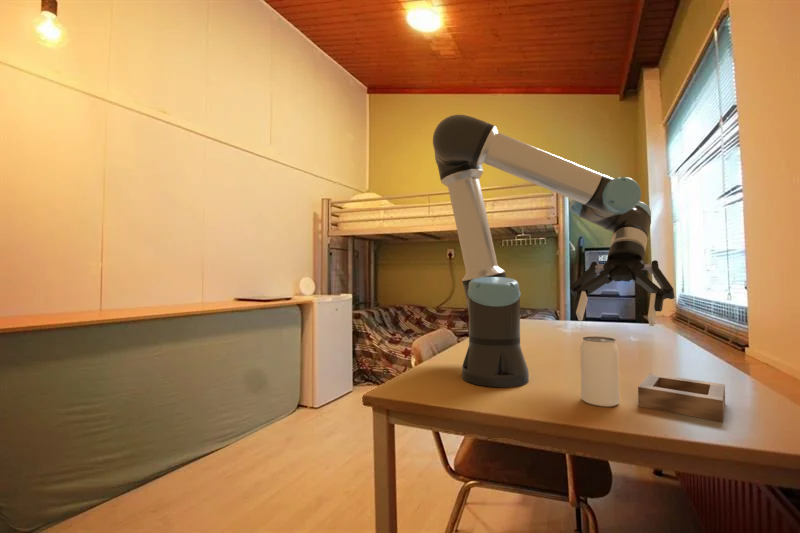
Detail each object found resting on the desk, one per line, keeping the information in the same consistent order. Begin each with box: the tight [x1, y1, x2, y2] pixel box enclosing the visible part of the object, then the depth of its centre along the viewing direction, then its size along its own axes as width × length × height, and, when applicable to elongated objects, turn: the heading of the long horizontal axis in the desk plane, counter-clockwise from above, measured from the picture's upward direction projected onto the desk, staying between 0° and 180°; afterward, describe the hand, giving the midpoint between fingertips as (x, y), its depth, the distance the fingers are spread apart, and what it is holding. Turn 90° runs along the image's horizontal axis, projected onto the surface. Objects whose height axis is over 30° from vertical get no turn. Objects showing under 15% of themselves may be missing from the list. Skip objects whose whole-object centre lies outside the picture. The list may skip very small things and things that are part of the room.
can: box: [580, 335, 620, 408], centre depth 74 cm, size 6×6×12 cm
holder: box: [637, 373, 726, 423], centre depth 72 cm, size 12×12×4 cm
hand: (612, 319), depth 82 cm, fingers open, 13 cm apart
